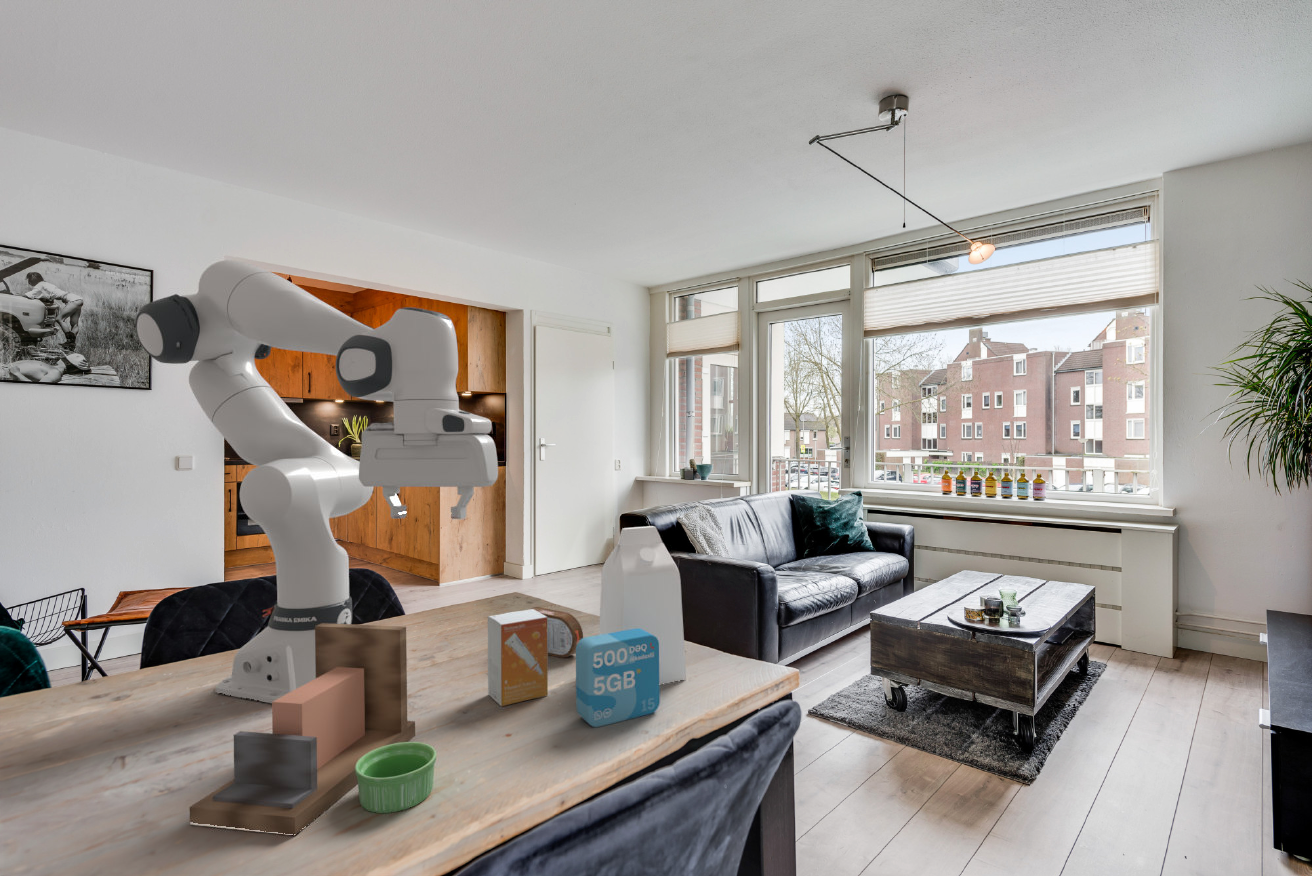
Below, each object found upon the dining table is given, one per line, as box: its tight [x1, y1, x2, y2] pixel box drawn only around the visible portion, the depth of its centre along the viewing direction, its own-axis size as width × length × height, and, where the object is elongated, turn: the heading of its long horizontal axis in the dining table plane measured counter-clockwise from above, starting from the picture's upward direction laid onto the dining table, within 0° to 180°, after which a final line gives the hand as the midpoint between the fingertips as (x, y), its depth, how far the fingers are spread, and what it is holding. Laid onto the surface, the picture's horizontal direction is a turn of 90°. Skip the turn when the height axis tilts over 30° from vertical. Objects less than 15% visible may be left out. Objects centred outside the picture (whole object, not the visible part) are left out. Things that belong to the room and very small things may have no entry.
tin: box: [530, 606, 584, 659], centre depth 129 cm, size 15×3×8 cm, turn 58°
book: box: [271, 667, 365, 770], centre depth 85 cm, size 4×12×9 cm, turn 170°
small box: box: [487, 608, 549, 707], centre depth 108 cm, size 8×6×13 cm
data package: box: [575, 628, 661, 728], centre depth 100 cm, size 12×4×12 cm, turn 120°
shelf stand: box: [189, 623, 416, 835], centre depth 83 cm, size 13×24×16 cm, turn 170°
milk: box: [598, 525, 687, 685], centre depth 117 cm, size 12×12×26 cm
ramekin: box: [355, 741, 437, 814], centre depth 79 cm, size 9×9×4 cm
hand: (428, 518), depth 95 cm, fingers open, 8 cm apart
